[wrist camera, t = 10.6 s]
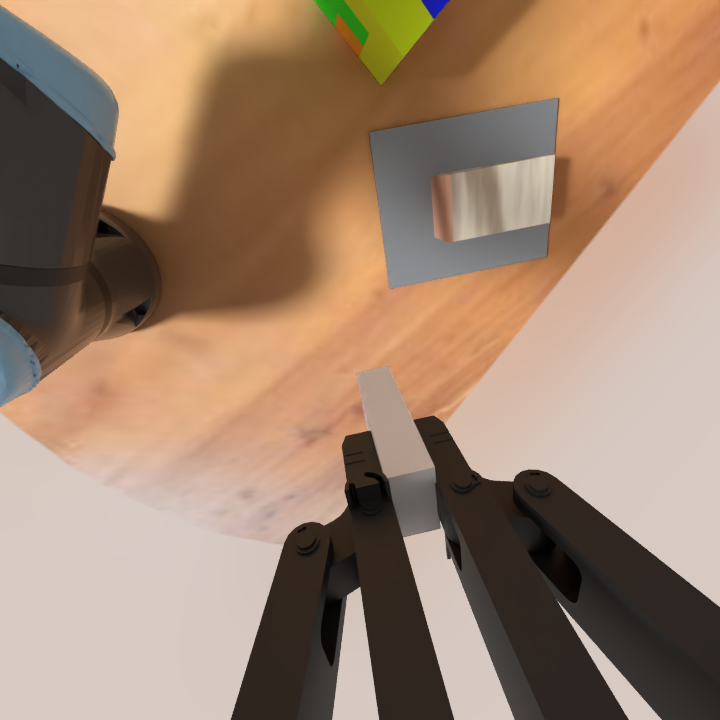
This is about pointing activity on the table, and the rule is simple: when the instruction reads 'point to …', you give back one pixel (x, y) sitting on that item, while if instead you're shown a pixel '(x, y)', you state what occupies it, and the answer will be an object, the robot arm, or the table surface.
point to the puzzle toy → (381, 28)
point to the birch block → (492, 198)
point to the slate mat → (445, 155)
